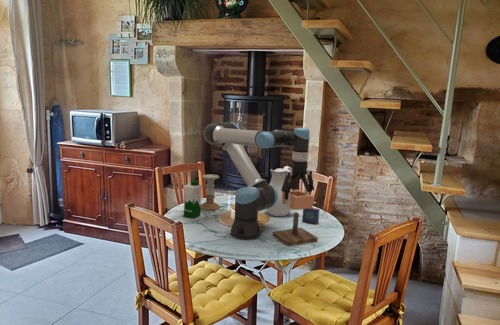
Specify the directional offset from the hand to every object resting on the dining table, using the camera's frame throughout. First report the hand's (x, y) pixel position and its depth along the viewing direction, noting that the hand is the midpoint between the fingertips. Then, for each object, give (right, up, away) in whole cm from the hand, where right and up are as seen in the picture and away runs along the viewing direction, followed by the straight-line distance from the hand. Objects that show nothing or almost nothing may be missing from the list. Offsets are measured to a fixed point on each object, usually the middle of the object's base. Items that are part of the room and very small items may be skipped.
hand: (296, 204), depth 184 cm
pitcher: (-5, -10, +45) cm, 46 cm away
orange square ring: (0, 0, 0) cm, 0 cm away
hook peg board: (-1, -17, +3) cm, 17 cm away
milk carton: (-56, -10, +30) cm, 64 cm away
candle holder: (-48, -7, +47) cm, 67 cm away
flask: (+11, -13, +27) cm, 32 cm away
